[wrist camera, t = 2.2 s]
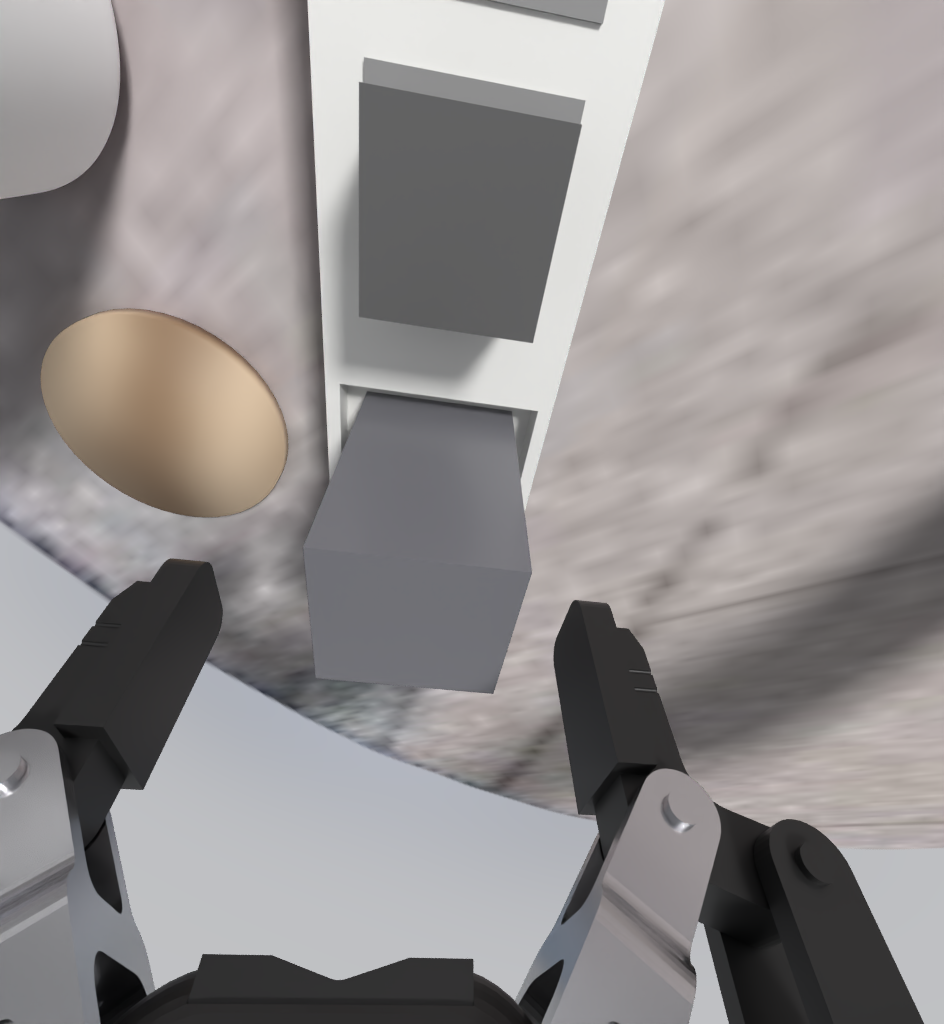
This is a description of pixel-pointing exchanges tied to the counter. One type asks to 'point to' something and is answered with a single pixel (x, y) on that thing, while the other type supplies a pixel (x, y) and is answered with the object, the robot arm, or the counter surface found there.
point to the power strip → (465, 193)
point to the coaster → (165, 412)
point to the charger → (419, 548)
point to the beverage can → (55, 90)
